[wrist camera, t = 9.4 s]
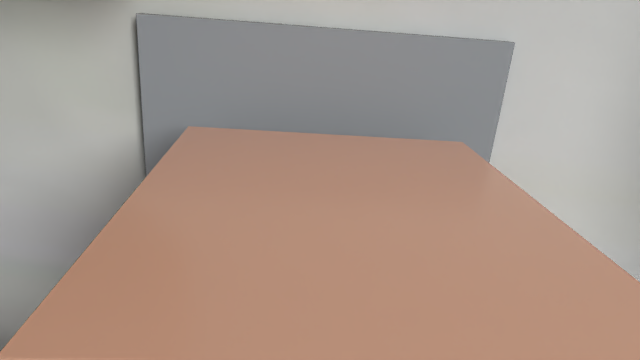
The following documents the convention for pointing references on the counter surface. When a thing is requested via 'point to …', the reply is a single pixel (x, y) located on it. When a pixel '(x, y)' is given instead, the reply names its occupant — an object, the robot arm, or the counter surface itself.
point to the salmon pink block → (333, 262)
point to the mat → (316, 82)
